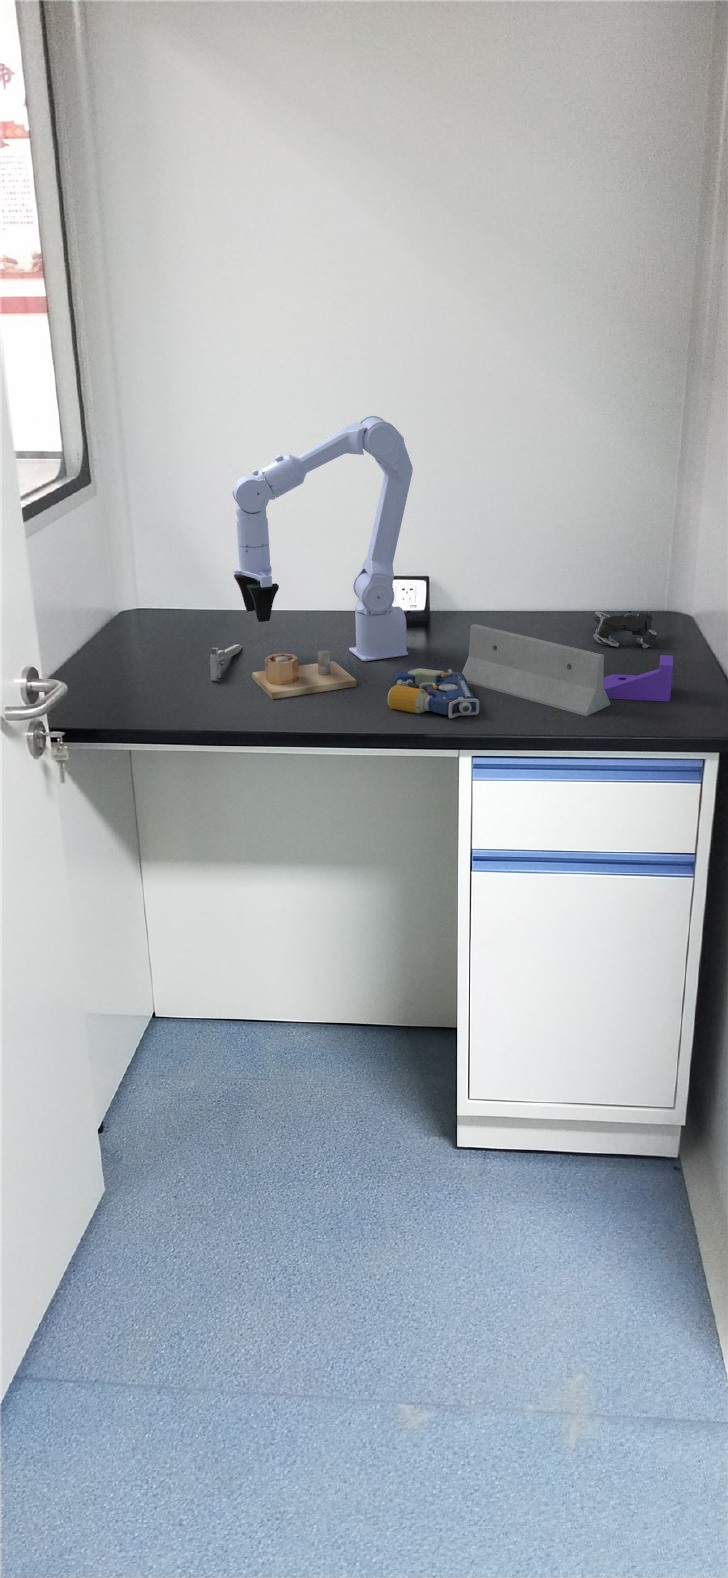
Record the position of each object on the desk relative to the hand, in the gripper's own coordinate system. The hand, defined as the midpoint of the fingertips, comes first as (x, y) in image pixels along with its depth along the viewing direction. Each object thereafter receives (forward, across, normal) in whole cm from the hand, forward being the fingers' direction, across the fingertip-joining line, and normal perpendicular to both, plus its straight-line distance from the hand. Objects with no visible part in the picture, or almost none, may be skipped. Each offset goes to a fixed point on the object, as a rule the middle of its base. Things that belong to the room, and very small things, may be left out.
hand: (257, 615), depth 222 cm
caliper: (+10, -2, -6) cm, 12 cm away
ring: (+8, +14, 0) cm, 16 cm away
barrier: (+10, +36, +39) cm, 54 cm away
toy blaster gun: (+10, +32, +21) cm, 39 cm away
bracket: (+10, +44, +55) cm, 71 cm away
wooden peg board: (+9, +14, +4) cm, 17 cm away
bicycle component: (+10, +16, +71) cm, 73 cm away
